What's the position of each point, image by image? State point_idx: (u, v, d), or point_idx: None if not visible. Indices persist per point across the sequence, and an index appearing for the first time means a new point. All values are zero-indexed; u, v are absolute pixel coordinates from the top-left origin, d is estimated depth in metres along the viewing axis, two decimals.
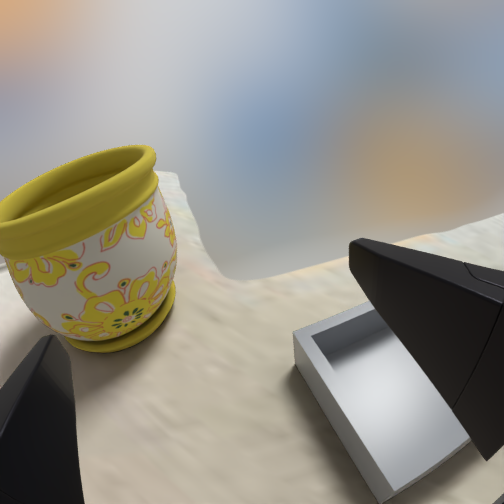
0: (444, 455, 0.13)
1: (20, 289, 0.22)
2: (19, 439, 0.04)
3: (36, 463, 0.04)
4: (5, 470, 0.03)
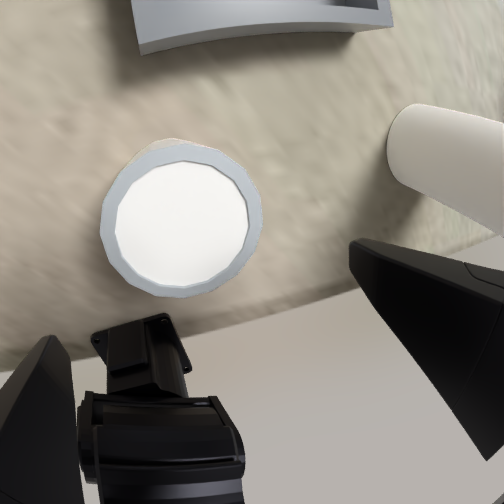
0: (218, 26, 0.12)
1: None
2: (19, 439, 0.04)
3: (36, 463, 0.04)
4: (5, 470, 0.03)
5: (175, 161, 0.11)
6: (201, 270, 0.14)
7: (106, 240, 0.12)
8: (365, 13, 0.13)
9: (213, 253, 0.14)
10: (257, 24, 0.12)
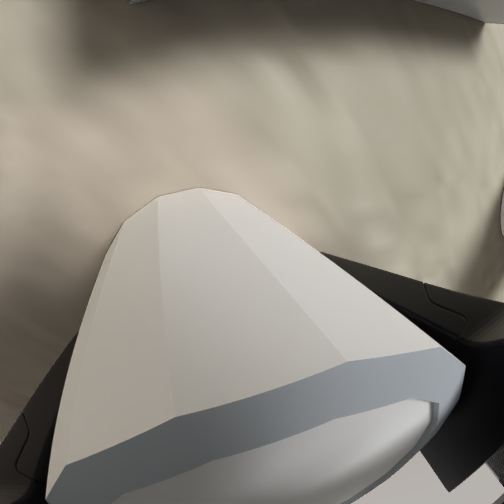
0: None
1: None
2: None
3: None
4: None
5: (297, 428, 0.02)
6: None
7: None
8: None
9: (332, 499, 0.05)
10: None
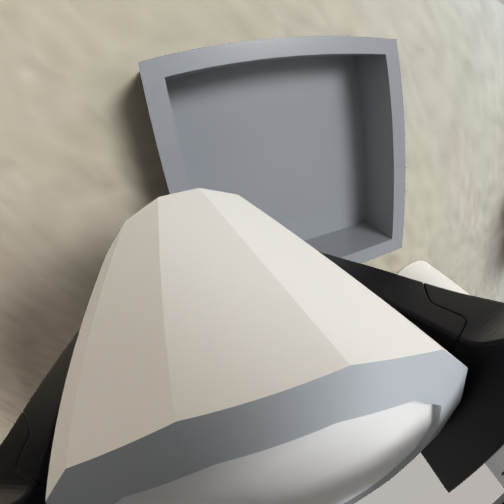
0: None
1: None
2: None
3: None
4: None
5: (300, 432, 0.02)
6: None
7: None
8: (380, 247, 0.20)
9: (332, 501, 0.05)
10: None
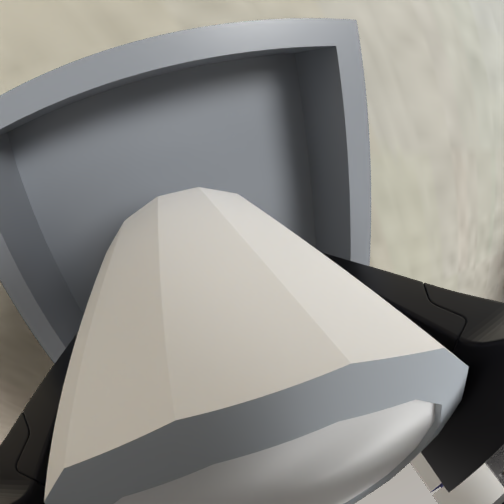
0: None
1: None
2: None
3: None
4: None
5: (300, 431, 0.02)
6: None
7: None
8: None
9: (333, 501, 0.05)
10: None
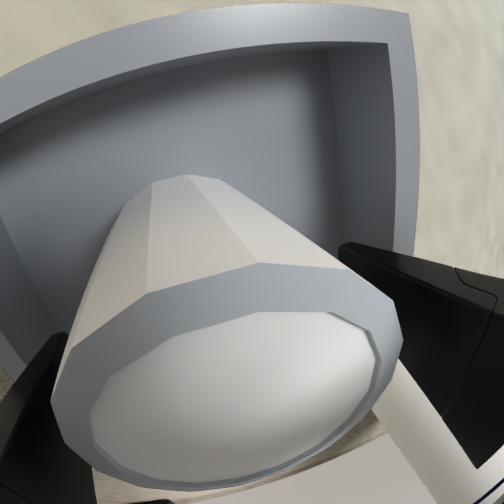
0: None
1: None
2: (31, 438, 0.04)
3: (49, 462, 0.04)
4: (18, 470, 0.03)
5: (232, 316, 0.04)
6: (272, 459, 0.06)
7: (82, 451, 0.04)
8: None
9: (298, 438, 0.06)
10: None
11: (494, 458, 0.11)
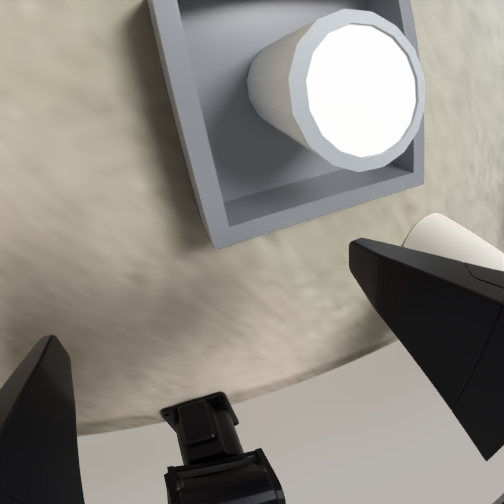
0: (281, 226, 0.17)
1: None
2: (19, 439, 0.04)
3: (36, 463, 0.04)
4: (5, 470, 0.03)
5: (366, 24, 0.09)
6: (378, 140, 0.12)
7: (294, 87, 0.10)
8: (401, 180, 0.18)
9: (389, 123, 0.12)
10: None
11: None
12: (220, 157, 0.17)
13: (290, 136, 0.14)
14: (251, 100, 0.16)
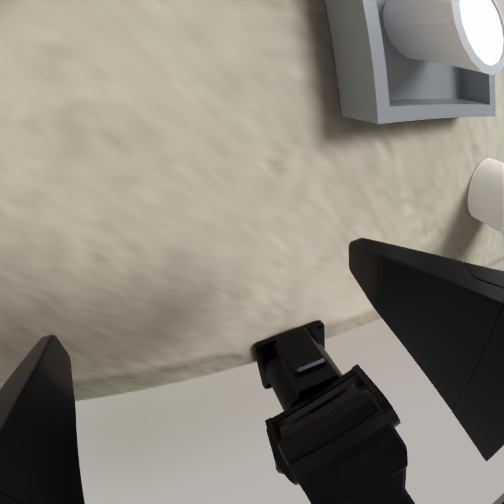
0: (419, 118, 0.17)
1: None
2: (19, 439, 0.04)
3: (36, 463, 0.04)
4: (5, 470, 0.03)
5: None
6: (489, 56, 0.12)
7: (454, 7, 0.10)
8: (484, 108, 0.18)
9: (493, 48, 0.12)
10: None
11: None
12: None
13: (427, 50, 0.15)
14: (388, 27, 0.16)
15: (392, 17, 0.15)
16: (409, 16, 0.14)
